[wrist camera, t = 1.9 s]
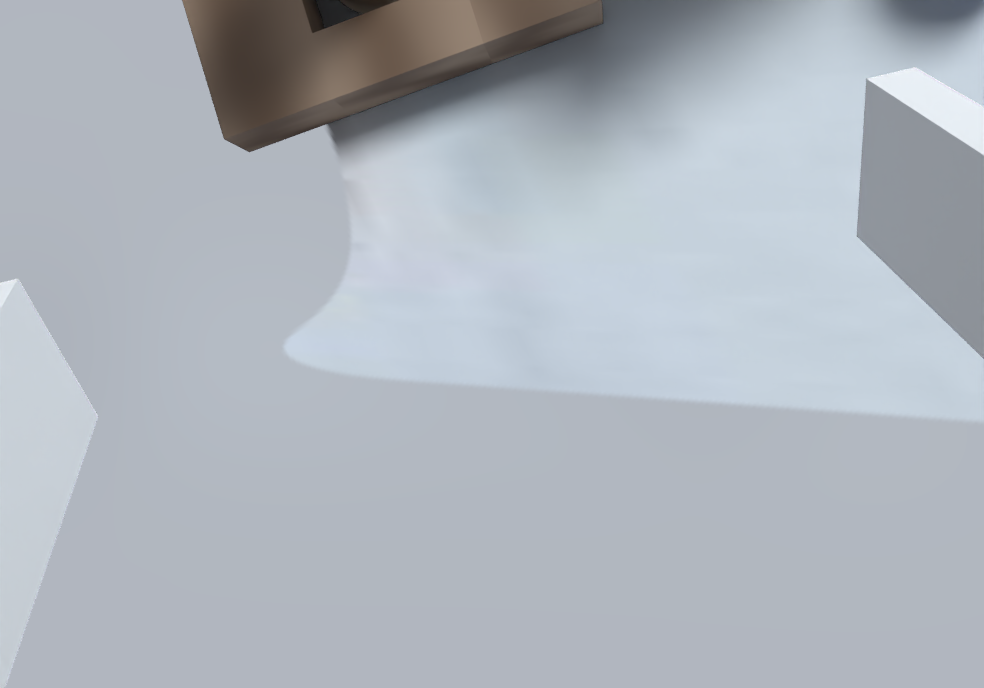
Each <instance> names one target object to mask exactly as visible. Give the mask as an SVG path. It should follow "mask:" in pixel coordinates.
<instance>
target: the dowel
mask: <svg viewBox="0 0 984 688" xmlns="http://www.w3.org/2000/svg"><path fill="white" fill-rule="evenodd" d="M340 1H341V2H342V3H343V4H344V5H345V6H347V7H348V8H350V9H352V10H354V11H356V12H359V13H362V14H365V13H367V12H370V11H372V10H375V9H378V8H380V7H383V6H386V5H388V4H391V3H393V2H396V1H399V0H340Z"/></svg>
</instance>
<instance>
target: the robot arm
mask: <svg viewBox="0 0 984 688" xmlns="http://www.w3.org/2000/svg"><path fill="white" fill-rule="evenodd" d="M857 237H858V238H859V239H860V240H861V241H862V242H863V243H864V244H865V245H866V246H867V247H869V248H870V249H871V250H872V251H873V252H874V253H875V254H876V255H877V256H878V257H879V258H880V259H881V260H882V261H883V262H884V263H885V264H886V265H887V266H888V267H889V268H890V269H891V270H892V271H893V272H894V273H895V274H896V275H898V276H899V277H900V278H901V279H902V280H903V281H904V282H905V283H906V284H907V285H908V286H909V287H910V288H911V289H912V290H913V291H914V292H915V293H916V294H917V295H918V296H919V297H920V298H921V299H922V300H923V301H924V302H925V303H926V304H928V305H929V306H930V307H931V308H932V309H933V310H934V311H935V312H936V313H937V314H938V315H939V316H940V317H941V318H942V319H943V320H944V321H945V322H946V323H947V324H948V325H949V326H950V327H951V328H952V329H953V330H954V331H955V332H957V333H958V334H959V335H960V336H961V337H962V338H963V339H964V340H965V341H966V342H967V343H968V344H969V345H970V346H971V347H972V348H973V349H974V350H975V351H976V352H977V353H978V354H979V355H980V356H981V357H982V358H983V359H984V107H983V106H982V105H980V104H978V103H976V102H975V101H973V100H971V99H969V98H968V97H966V96H964V95H963V94H961V93H959V92H957V91H956V90H954V89H952V88H950V87H949V86H947V85H945V84H944V83H942V82H940V81H938V80H937V79H935V78H933V77H931V76H930V75H928V74H926V73H925V72H923V71H921V70H919V69H918V68H916V67H914V68H909V69H905V70H901V71H897V72H892V73H888V74H884V75H880V76H875V77H871V78H867V79H866V93H865V110H864V126H863V142H862V159H861V175H860V191H859V207H858V224H857ZM97 419H98V415H97V414H96V412H95V410H94V408H93V407H92V405H91V403H90V402H89V400H88V398H87V397H86V395H85V393H84V391H83V390H82V388H81V386H80V384H79V383H78V381H77V379H76V377H75V376H74V374H73V372H72V371H71V369H70V367H69V365H68V364H67V362H66V360H65V359H64V357H63V355H62V353H61V352H60V350H59V349H58V347H57V345H56V343H55V341H54V340H53V338H52V336H51V334H50V333H49V331H48V329H47V328H46V326H45V324H44V322H43V321H42V319H41V317H40V315H39V314H38V312H37V310H36V309H35V307H34V305H33V303H32V302H31V300H30V298H29V297H28V295H27V293H26V291H25V290H24V288H23V287H22V284H21V283H20V281H19V279H14V280H9V281H5V282H1V283H0V688H5V687H6V684H7V681H8V678H9V675H10V672H11V670H12V666H13V664H14V661H15V658H16V655H17V652H18V649H19V646H20V643H21V640H22V637H23V635H24V632H25V629H26V626H27V623H28V620H29V617H30V614H31V611H32V608H33V605H34V602H35V600H36V597H37V594H38V591H39V588H40V585H41V582H42V579H43V576H44V573H45V570H46V567H47V564H48V561H49V559H50V556H51V553H52V550H53V547H54V544H55V541H56V538H57V535H58V532H59V530H60V527H61V523H62V521H63V518H64V515H65V512H66V509H67V506H68V503H69V500H70V497H71V495H72V491H73V489H74V486H75V483H76V480H77V477H78V474H79V471H80V468H81V465H82V463H83V460H84V457H85V453H86V451H87V448H88V445H89V442H90V439H91V436H92V433H93V430H94V428H95V424H96V422H97Z"/></svg>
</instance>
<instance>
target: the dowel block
mask: <svg viewBox="0 0 984 688" xmlns="http://www.w3.org/2000/svg"><path fill="white" fill-rule="evenodd" d="M182 1H183V4H184V8H185V11H186V14H187V18H188V21H189V24H190V27H191V31H192V34H193V38H194V41H195V44H196V48H197V51H198V54H199V57H200V61H201V64H202V67H203V71H204V74H205V77H206V81H207V84H208V87H209V90H210V94H211V97H212V101H213V104H214V107H215V110H216V114H217V117H218V121H219V124H220V127H221V130H222V134H223V137H224V139H225V140H227V141H229V142H231V143H233V144H235V145H237V146H239V147H240V148H242V149H244V150H247V151H248V152H251V151H254V150H256V149H259V148H262V147H265V146H268V145H270V144H273V143H276V142H279V141H281V140H284V139H287V138H289V137H292V136H295V135H298V134H300V133H303V132H306V131H309V130H311V129H314V128H317V127H320V126H322V125H325V124H328V123H331V122H333V121H336V120H339V119H342V118H344V117H347V116H350V115H353V114H355V113H358V112H361V111H364V110H366V109H369V108H372V107H375V106H377V105H380V104H383V103H386V102H388V101H391V100H394V99H397V98H399V97H402V96H405V95H407V94H410V93H413V92H416V91H418V90H421V89H424V88H427V87H429V86H432V85H435V84H438V83H440V82H443V81H446V80H449V79H451V78H454V77H457V76H460V75H462V74H465V73H468V72H471V71H473V70H476V69H479V68H482V67H484V66H487V65H490V64H492V63H495V62H498V61H501V60H503V59H506V58H509V57H512V56H514V55H517V54H520V53H523V52H525V51H528V50H531V49H534V48H536V47H539V46H542V45H545V44H547V43H550V42H553V41H556V40H558V39H561V38H564V37H567V36H569V35H572V34H575V33H577V32H580V31H583V30H586V29H588V28H591V27H594V26H597V25H599V24H602V23H603V13H602V0H399V1H396V2H393V3H391V4H388V5H386V6H383V7H380V8H378V9H375V10H372V11H370V12H367V13H365V14H362V15H359V16H357V17H354V18H351V19H349V20H346V21H344V22H341V23H338V24H336V25H333V26H330V27H328V28H324V25H323V22H322V18H321V15H320V12H319V9H318V5H317V2H316V0H182Z"/></svg>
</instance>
